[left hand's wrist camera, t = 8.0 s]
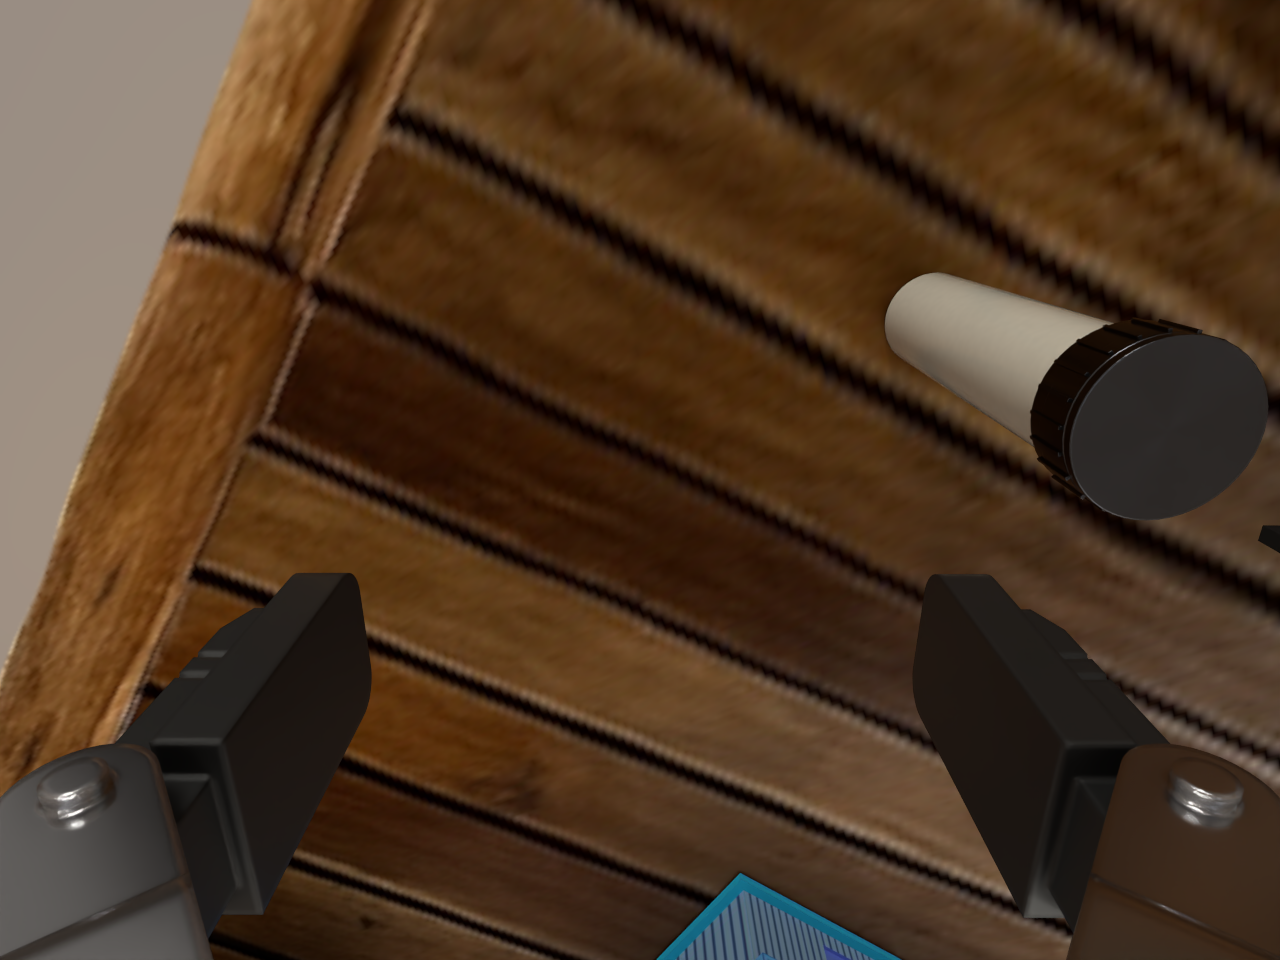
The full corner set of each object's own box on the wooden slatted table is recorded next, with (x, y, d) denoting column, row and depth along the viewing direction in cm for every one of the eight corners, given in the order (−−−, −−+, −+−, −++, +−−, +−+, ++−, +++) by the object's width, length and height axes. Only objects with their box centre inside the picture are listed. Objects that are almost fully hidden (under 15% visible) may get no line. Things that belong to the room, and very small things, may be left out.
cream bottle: (872, 294, 37) (1059, 383, 21) (964, 257, 36) (1230, 319, 20) (898, 379, 38) (1092, 524, 22) (987, 345, 38) (1251, 467, 21)
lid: (1008, 359, 22) (1048, 378, 20) (1197, 286, 22) (1258, 298, 19) (1047, 516, 24) (1087, 549, 22) (1223, 454, 23) (1282, 481, 21)
